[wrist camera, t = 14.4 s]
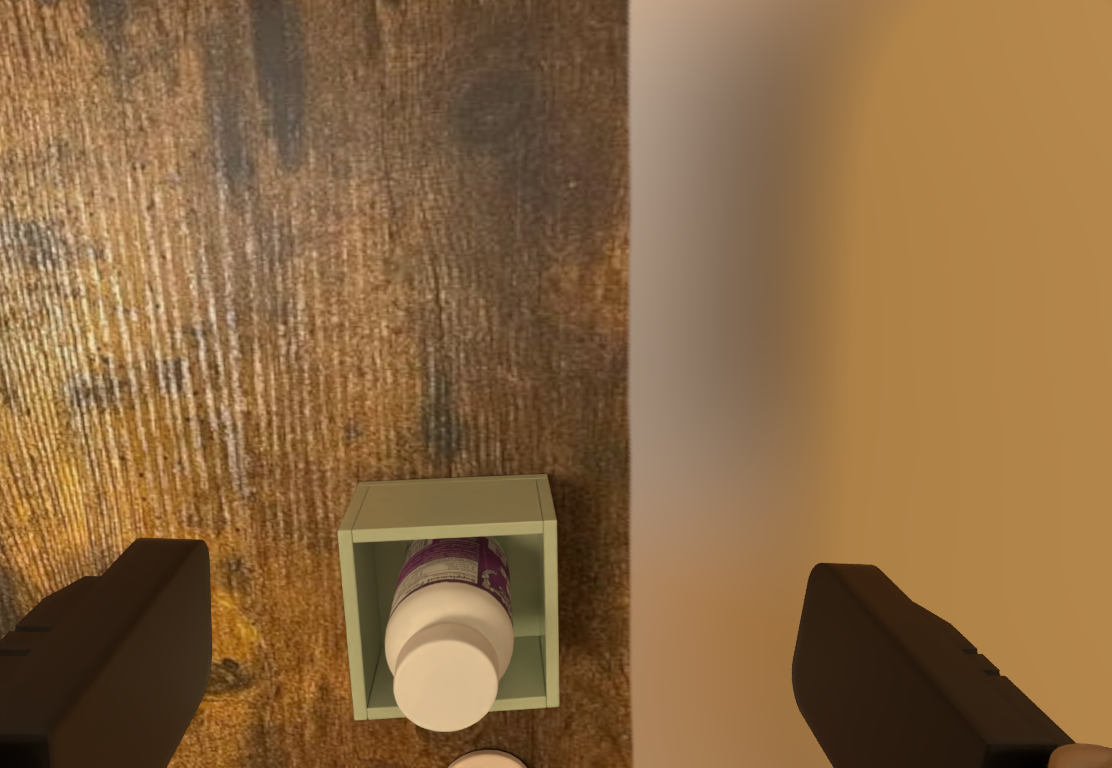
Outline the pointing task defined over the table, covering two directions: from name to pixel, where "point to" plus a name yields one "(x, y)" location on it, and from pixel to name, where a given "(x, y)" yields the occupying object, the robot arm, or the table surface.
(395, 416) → the table surface
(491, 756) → the candle
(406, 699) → the pill bottle
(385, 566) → the green open box
